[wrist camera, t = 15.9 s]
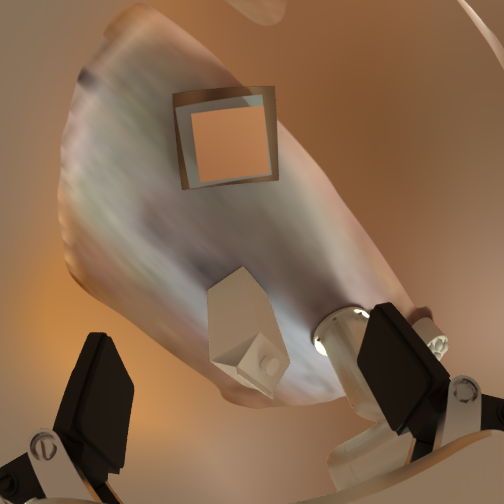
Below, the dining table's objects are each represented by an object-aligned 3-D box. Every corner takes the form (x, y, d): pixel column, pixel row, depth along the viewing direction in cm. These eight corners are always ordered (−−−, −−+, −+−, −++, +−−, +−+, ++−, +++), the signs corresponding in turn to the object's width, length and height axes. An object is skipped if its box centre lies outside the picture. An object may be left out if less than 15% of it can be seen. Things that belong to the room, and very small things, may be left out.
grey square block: (255, 97, 29) (261, 94, 26) (264, 168, 33) (272, 175, 30) (179, 109, 28) (175, 107, 25) (191, 181, 33) (189, 189, 29)
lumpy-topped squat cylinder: (401, 358, 63) (416, 380, 56) (402, 329, 57) (420, 353, 49) (431, 340, 63) (447, 360, 55) (434, 309, 57) (454, 330, 49)
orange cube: (252, 108, 26) (263, 105, 21) (257, 163, 29) (269, 173, 24) (194, 115, 26) (191, 113, 20) (201, 170, 28) (200, 182, 23)
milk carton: (233, 316, 47) (249, 410, 30) (206, 289, 44) (211, 387, 27) (267, 294, 46) (299, 386, 29) (242, 264, 43) (267, 358, 26)
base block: (267, 89, 32) (274, 86, 29) (271, 174, 38) (278, 180, 34) (176, 96, 31) (172, 93, 27) (184, 183, 36) (182, 190, 33)
